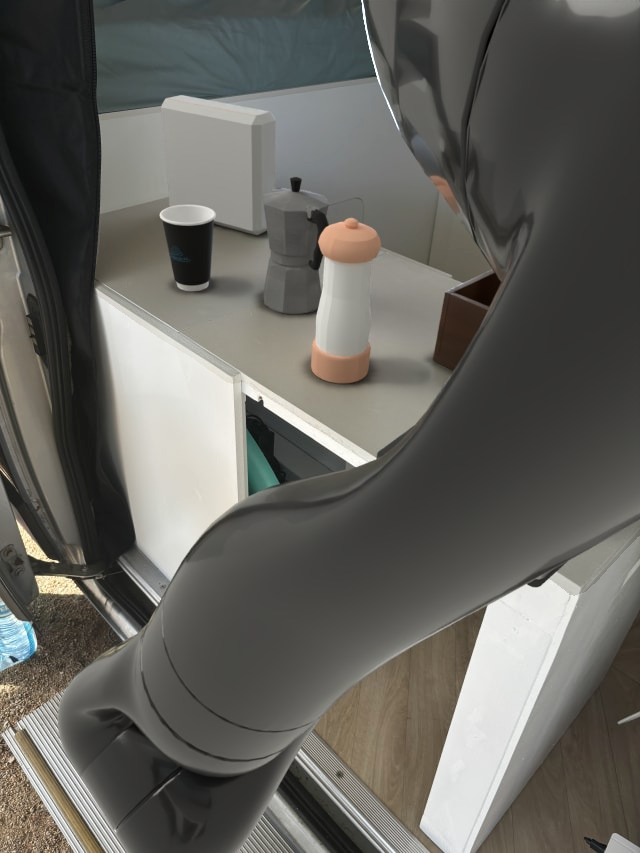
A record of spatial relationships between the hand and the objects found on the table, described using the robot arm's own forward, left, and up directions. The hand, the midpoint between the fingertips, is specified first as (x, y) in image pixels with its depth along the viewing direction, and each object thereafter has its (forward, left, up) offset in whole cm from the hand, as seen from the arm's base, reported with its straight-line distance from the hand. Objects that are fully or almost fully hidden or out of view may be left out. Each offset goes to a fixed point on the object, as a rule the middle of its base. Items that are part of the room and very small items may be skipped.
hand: (529, 452), depth 49 cm
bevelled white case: (+75, -50, -13) cm, 91 cm away
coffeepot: (+44, -31, -13) cm, 55 cm away
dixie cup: (+60, -26, -13) cm, 67 cm away
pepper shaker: (+29, -20, -13) cm, 38 cm away
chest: (+13, -36, -13) cm, 40 cm away
